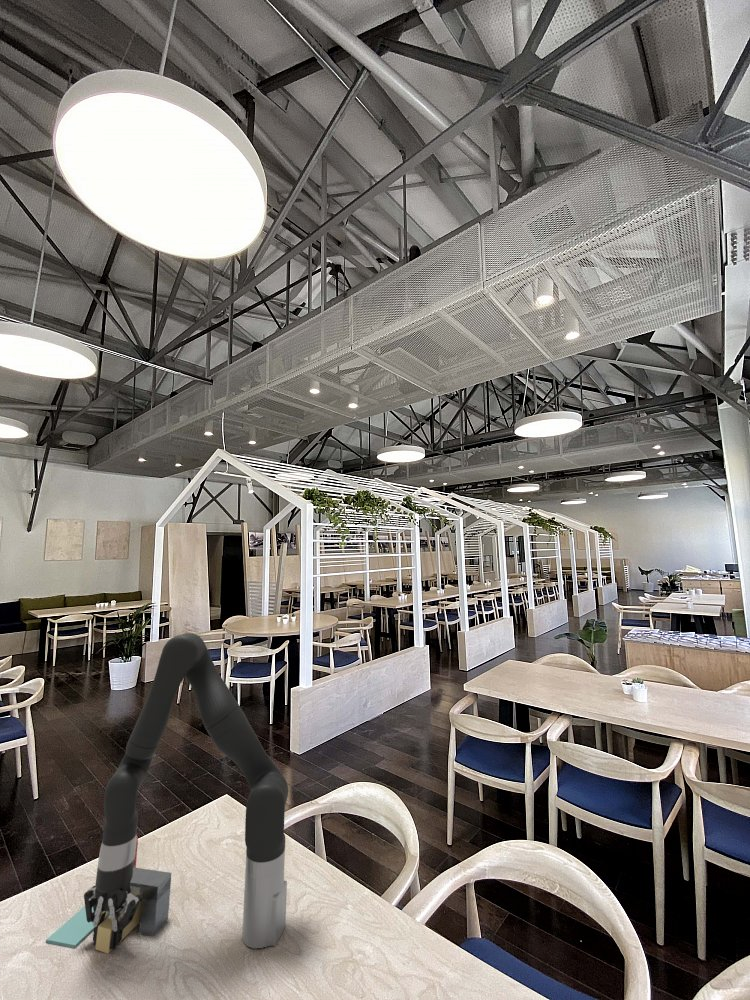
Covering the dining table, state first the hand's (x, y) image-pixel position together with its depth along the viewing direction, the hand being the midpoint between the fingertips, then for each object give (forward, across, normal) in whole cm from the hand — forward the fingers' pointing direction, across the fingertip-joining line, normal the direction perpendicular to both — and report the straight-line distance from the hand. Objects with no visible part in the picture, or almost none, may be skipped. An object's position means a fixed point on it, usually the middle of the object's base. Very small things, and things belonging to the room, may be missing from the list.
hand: (106, 944), depth 97 cm
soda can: (+1, +13, -18) cm, 22 cm away
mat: (+1, +11, -6) cm, 12 cm away
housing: (+1, -1, -8) cm, 8 cm away
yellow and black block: (+1, 0, -5) cm, 5 cm away
